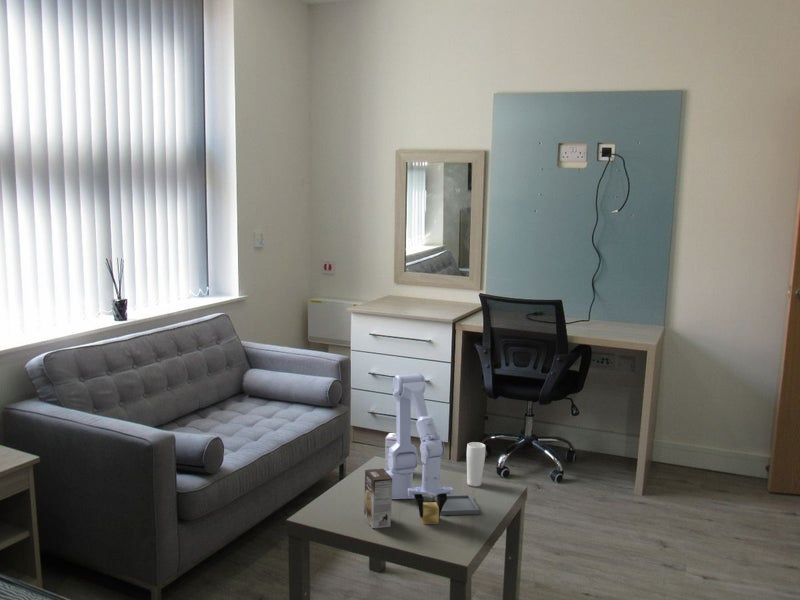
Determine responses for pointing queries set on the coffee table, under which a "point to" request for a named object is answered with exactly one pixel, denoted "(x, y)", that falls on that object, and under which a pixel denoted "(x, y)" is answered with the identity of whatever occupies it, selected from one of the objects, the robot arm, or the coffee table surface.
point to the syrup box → (390, 441)
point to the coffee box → (378, 498)
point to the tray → (459, 505)
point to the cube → (430, 513)
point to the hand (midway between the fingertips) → (429, 516)
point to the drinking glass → (475, 463)
